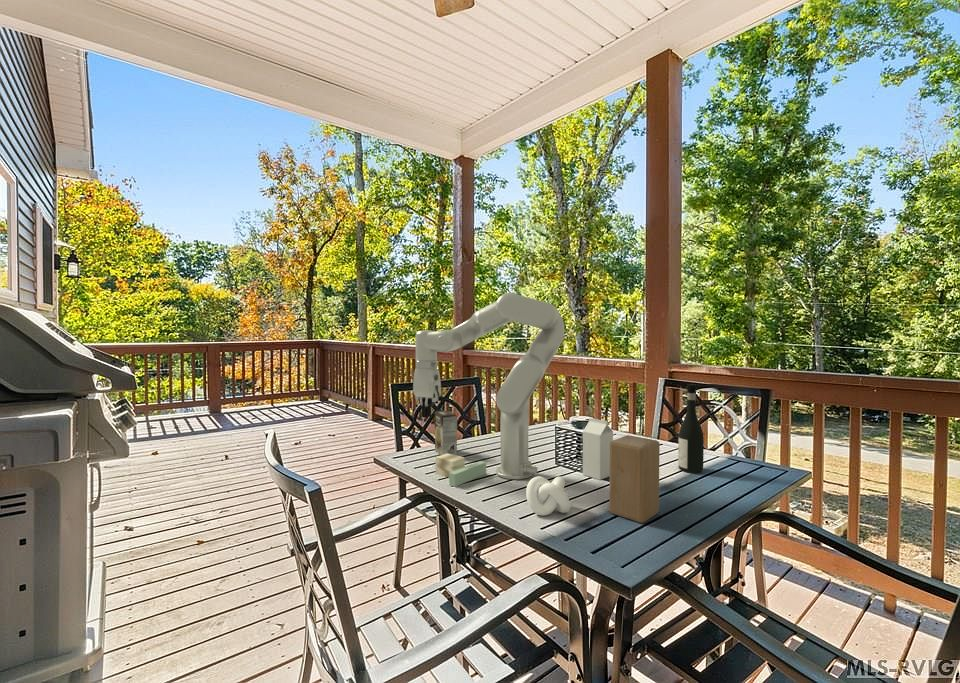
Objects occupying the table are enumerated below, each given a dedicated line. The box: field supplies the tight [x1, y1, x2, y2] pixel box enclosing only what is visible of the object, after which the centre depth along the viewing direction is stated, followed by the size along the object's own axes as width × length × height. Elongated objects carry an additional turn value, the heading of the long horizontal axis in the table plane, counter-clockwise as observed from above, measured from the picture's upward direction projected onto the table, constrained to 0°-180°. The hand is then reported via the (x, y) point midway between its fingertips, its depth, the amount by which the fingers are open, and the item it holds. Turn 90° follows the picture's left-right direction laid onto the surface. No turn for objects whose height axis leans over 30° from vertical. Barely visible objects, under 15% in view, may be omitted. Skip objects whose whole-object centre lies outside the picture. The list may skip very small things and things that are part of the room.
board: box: [448, 460, 487, 488], centre depth 152 cm, size 2×16×4 cm, turn 141°
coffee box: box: [434, 410, 458, 456], centre depth 182 cm, size 9×6×16 cm
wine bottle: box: [677, 383, 705, 474], centre depth 159 cm, size 8×8×30 cm
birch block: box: [435, 453, 466, 479], centre depth 157 cm, size 8×6×6 cm
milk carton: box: [582, 417, 614, 481], centre depth 155 cm, size 7×7×19 cm
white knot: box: [525, 475, 571, 517], centre depth 126 cm, size 11×12×9 cm
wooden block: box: [608, 434, 660, 524], centre depth 123 cm, size 10×10×20 cm
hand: (426, 416), depth 163 cm, fingers closed
